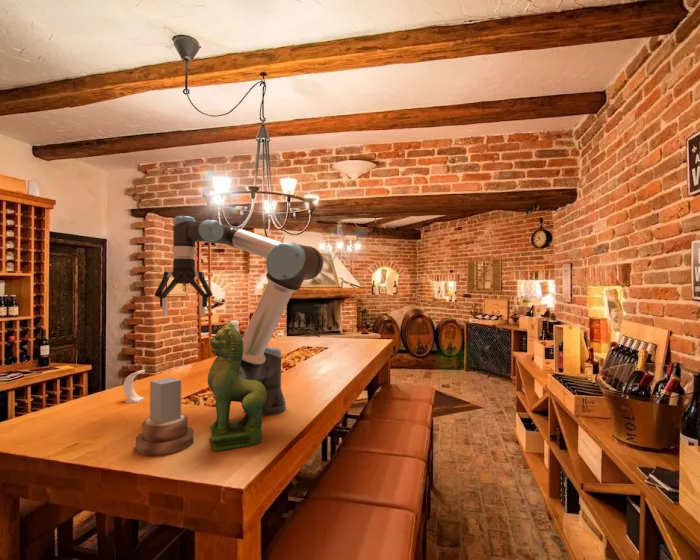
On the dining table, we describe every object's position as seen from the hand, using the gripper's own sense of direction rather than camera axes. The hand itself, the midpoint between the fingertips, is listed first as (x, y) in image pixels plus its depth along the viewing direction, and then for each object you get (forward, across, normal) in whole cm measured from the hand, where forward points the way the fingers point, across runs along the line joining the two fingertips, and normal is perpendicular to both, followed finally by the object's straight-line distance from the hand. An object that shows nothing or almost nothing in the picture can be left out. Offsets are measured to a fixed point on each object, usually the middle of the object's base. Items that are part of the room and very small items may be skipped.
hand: (183, 316), depth 146 cm
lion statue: (+35, -27, +30) cm, 53 cm away
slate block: (+27, -7, +32) cm, 43 cm away
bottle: (+35, -10, -35) cm, 50 cm away
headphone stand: (+35, +24, -13) cm, 44 cm away
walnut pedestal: (+35, -7, +32) cm, 48 cm away
